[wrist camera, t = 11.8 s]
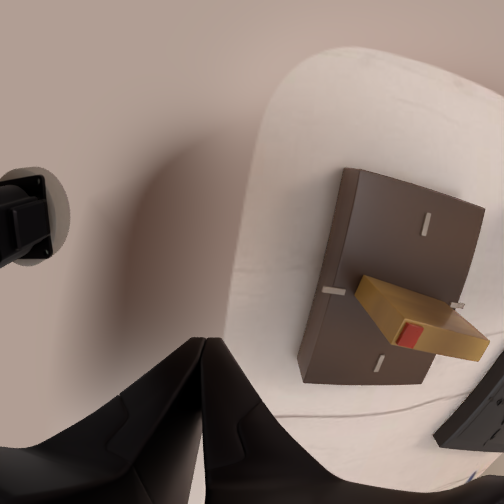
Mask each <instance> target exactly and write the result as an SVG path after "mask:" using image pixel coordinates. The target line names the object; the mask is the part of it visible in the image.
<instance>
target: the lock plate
mask: <svg viewBox="0 0 504 504" xmlns="http://www.w3.org/2000/svg"><path fill="white" fill-rule="evenodd" d="M484 213H485V209H484V208H482V207H480V206H477V205H474V204H471V203H469V202H466V201H463V200H460V199H457V198H455V197H452V196H449V195H446V194H443V193H440V192H437V191H434V190H431V189H428V188H424V187H421V186H418V185H415V184H412V183H408V182H405V181H402V180H398V179H395V178H391V177H388V176H384V175H380V174H377V173H373V172H369V171H366V170H362V169H354V168H344V169H343V174H342V179H341V184H340V189H339V194H338V199H337V204H336V208H335V213H334V218H333V222H332V227H331V231H330V235H329V240H328V244H327V248H326V253H325V257H324V261H323V265H322V269H321V273H320V277H319V281H318V285H317V289H316V292H315V296H314V300H313V304H312V307H311V311H310V315H309V318H308V322H307V326H306V329H305V333H304V336H303V340H302V343H301V346H300V350H299V353H298V357H297V360H298V364H299V368H300V372H301V376H302V380H303V383H312V384H333V385H411V384H422V382H423V380H424V378H425V376H426V374H427V372H428V370H429V368H430V366H431V364H432V362H433V360H434V358H435V356H436V354H434V353H429V352H424V351H419V350H415V349H410V348H405V347H401V346H396V345H391V344H390V343H389V341H388V340H387V339H386V337H385V336H384V335H383V333H382V332H381V331H380V329H379V328H378V326H377V325H376V324H375V322H374V321H373V320H372V318H371V317H370V316H369V314H368V313H367V312H366V310H365V309H364V308H363V306H362V305H361V304H360V302H359V301H358V300H357V298H356V297H355V296H354V295H355V292H356V290H357V288H358V286H359V284H360V281H361V279H362V277H363V275H366V276H369V277H372V278H375V279H378V280H381V281H384V282H387V283H390V284H393V285H396V286H399V287H402V288H405V289H408V290H411V291H414V292H417V293H420V294H423V295H426V296H429V297H432V298H434V299H437V300H440V301H443V302H445V303H446V304H448V305H449V306H450V307H451V308H452V309H454V310H455V309H456V308H461V309H463V307H464V305H465V304H464V303H458V301H459V298H460V295H461V292H462V289H463V287H464V284H465V281H466V278H467V275H468V272H469V268H470V265H471V262H472V259H473V255H474V252H475V248H476V245H477V241H478V237H479V233H480V229H481V225H482V221H483V217H484Z"/></svg>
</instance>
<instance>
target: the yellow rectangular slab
mask: <svg viewBox="0 0 504 504" xmlns="http://www.w3.org/2000/svg"><path fill="white" fill-rule="evenodd" d="M354 296H355V297H356V298H357V300H358V301H359V302H360V304H361V305H362V306H363V308H364V309H365V310H366V312H367V313H368V314H369V316H370V317H371V318H372V320H373V321H374V322H375V324H376V325H377V326H378V328H379V329H380V331H381V332H382V333H383V335H384V336H385V337H386V339H387V340H388V341H389V343H390V344H391V345H396V346H401V347H405V348H410V349H415V350H419V351H424V352H429V353H434V354H439V355H444V356H449V357H455V358H460V359H465V360H471V361H477V362H478V361H479V360H480V358H481V357H482V355H483V353H484V352H485V350H486V348H487V347H488V345H489V343H490V340H488V339H487V338H486V337H485V336H484V335H483V334H482V333H481V332H479V331H478V330H477V329H476V328H475V327H474V326H473V325H471V324H470V323H469V322H468V321H467V320H465V319H464V318H463V317H462V316H461V315H460V314H458V313H457V312H456V311H455V310H454V309H452V308H451V307H450V306H449V305H448V304H446V303H445V302H443V301H440V300H437V299H434V298H432V297H429V296H426V295H423V294H420V293H417V292H414V291H411V290H408V289H405V288H402V287H399V286H396V285H393V284H390V283H387V282H384V281H381V280H378V279H375V278H372V277H369V276H366V275H363V277H362V279H361V281H360V284H359V286H358V288H357V290H356V292H355V295H354Z"/></svg>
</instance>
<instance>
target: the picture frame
mask: <svg viewBox="0 0 504 504" xmlns="http://www.w3.org/2000/svg"><path fill="white" fill-rule="evenodd" d="M433 437H434V439H435V440H436V442H437V444H438V445H439V447H441V448H449V449H459V450H470V451H483V452H504V351H503V353H502V354H501V355H500V357H499V358H498V360H497V361H496V362H495V364H494V365H493V367H492V368H491V369H490V371H489V372H488V373H487V374H486V376H485V377H484V378H483V380H482V381H481V382H480V383H479V385H478V386H477V387H476V388H475V390H474V391H473V392H472V393H471V395H470V396H469V397H468V398H467V399H466V400H465V402H464V403H463V404H462V405H461V406H460V407H459V408H458V410H457V411H456V412H455V413H454V414H453V415H452V416H451V417H450V418H449V419H448V420H447V421H446V423H445V424H444V425H443V426H442V427H441V428H440V429H439V430H438V431H437V432H436V433H435V434H434V435H433Z"/></svg>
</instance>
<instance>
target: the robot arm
mask: <svg viewBox="0 0 504 504" xmlns="http://www.w3.org/2000/svg"><path fill="white" fill-rule="evenodd" d="M38 179H40V183H38ZM50 233H51V231H50V223H49V215H48V205H47V198H46V186H45V178H44V176H43V175H41V174H39V175H33V176H27V177H22V178H16V179H11V180H6V181H1V182H0V268H2V267H4V266H5V265H7V264H9V263H11V262H12V261H14V260H16V259H49V258H50V257H52V255H53V248H52V241H51V234H50ZM46 250H47V251H48V254H47V253H46ZM202 433H203V452H204V468H205V484H206V496H205V504H504V476H496V475H486V476H482V477H480V478H477V479H475V480H472V481H470V482H468V483H466V484H464V485H461V486H459V487H456V488H453V489H450V490H445V491H440V492H430V493H420V492H409V491H401V490H394V489H387V488H381V487H375V486H369V485H364V484H359V483H354V482H349V481H345V480H343V479H341V478H339V477H337V476H335V475H333V474H332V473H330V472H329V471H328V470H326V469H325V468H324V467H323V466H322V465H321V464H320V463H319V462H318V461H316V460H315V459H314V458H313V457H312V456H311V455H310V454H309V453H308V452H307V451H306V450H305V449H304V448H303V447H302V446H301V445H300V444H299V443H298V442H296V441H295V440H294V439H293V438H292V437H291V436H290V435H289V433H288V432H287V431H286V430H285V429H284V428H283V427H282V426H281V425H280V424H279V423H278V421H277V420H276V419H275V417H274V416H273V415H272V414H271V412H270V411H269V409H268V408H267V407H266V405H265V404H264V402H263V401H262V399H261V398H260V397H259V395H258V394H257V392H256V391H255V389H254V388H253V386H252V385H251V383H250V382H249V380H248V379H247V377H246V376H245V374H244V372H243V371H242V369H241V368H240V366H239V365H238V363H237V362H236V360H235V359H234V357H233V355H232V354H231V352H230V351H229V349H228V348H227V346H226V344H225V343H224V341H223V340H222V338H207V339H206V338H203V337H200V338H199V337H192V338H190V339H189V340H188V341H186V342H185V343H184V344H183V345H181V346H180V347H179V348H177V349H176V350H175V351H174V352H172V353H171V354H170V355H169V356H167V357H166V358H165V359H164V360H162V361H161V362H160V363H159V364H157V365H156V366H155V367H153V368H152V369H151V370H150V371H148V372H147V373H146V374H144V375H143V376H142V377H141V378H139V379H138V380H137V381H135V382H134V383H133V384H131V385H130V386H129V387H128V388H126V389H125V390H124V391H122V392H121V393H120V396H119V395H117V396H116V397H114V398H113V399H112V400H110V401H109V402H108V403H106V404H105V405H104V406H102V407H101V408H99V409H98V410H97V411H95V412H94V413H92V414H91V415H89V416H87V417H86V418H84V419H83V420H81V421H79V422H78V423H76V424H74V425H72V426H71V427H69V428H67V429H65V430H63V431H62V432H60V433H58V434H56V435H55V436H53V437H51V438H49V439H47V440H46V441H44V442H42V443H40V444H38V445H35V446H32V447H27V448H8V447H0V504H188V499H189V494H190V489H191V483H192V479H193V474H194V469H195V464H196V459H197V454H198V449H199V444H200V439H201V434H202Z"/></svg>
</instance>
